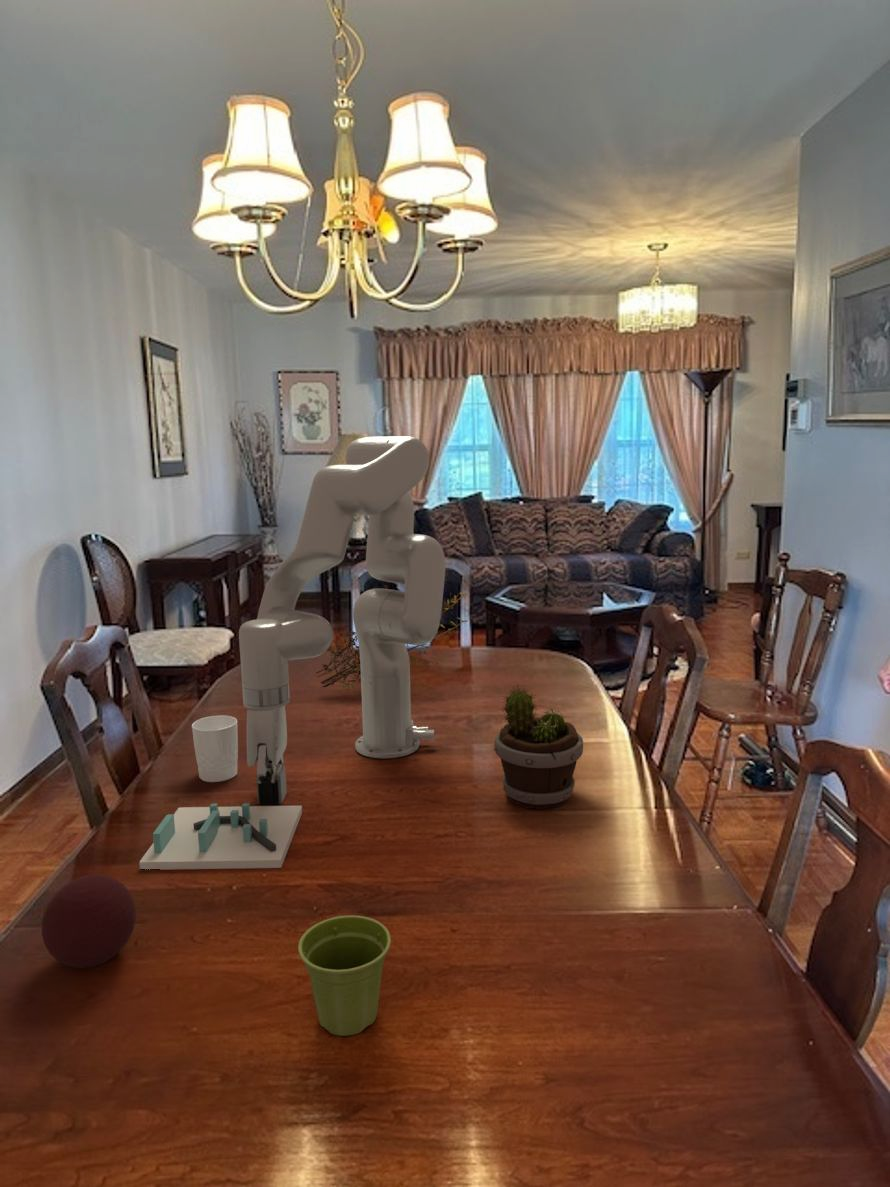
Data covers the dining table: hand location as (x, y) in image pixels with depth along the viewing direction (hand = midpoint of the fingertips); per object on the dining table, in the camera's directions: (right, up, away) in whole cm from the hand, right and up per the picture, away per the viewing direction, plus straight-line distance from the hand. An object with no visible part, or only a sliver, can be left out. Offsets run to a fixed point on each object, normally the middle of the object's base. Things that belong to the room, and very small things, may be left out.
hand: (272, 796), depth 133 cm
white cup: (-12, +1, +10) cm, 16 cm away
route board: (-4, -3, -14) cm, 15 cm away
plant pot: (+19, -10, -51) cm, 55 cm away
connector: (0, 0, 0) cm, 0 cm away
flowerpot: (+45, 0, -1) cm, 45 cm away
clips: (-2, -2, -13) cm, 14 cm away
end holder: (-9, -3, -17) cm, 19 cm away
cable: (-2, -2, -15) cm, 16 cm away
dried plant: (+19, +11, +58) cm, 62 cm away
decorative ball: (-12, -9, -41) cm, 44 cm away
